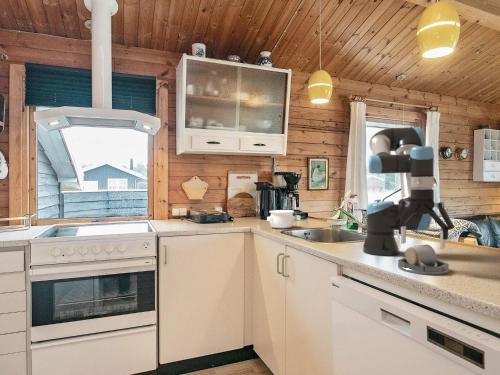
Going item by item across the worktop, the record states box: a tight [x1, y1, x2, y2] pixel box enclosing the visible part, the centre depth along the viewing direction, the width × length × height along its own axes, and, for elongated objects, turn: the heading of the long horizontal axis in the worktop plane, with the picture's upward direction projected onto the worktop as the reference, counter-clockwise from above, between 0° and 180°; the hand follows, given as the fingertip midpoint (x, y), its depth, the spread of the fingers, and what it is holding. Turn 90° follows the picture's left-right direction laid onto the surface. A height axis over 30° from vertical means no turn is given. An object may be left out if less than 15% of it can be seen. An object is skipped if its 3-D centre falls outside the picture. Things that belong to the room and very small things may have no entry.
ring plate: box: [397, 256, 450, 276], centre depth 120 cm, size 17×17×2 cm
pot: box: [266, 209, 296, 229], centre depth 235 cm, size 22×17×12 cm
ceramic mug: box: [404, 244, 437, 267], centre depth 119 cm, size 11×8×8 cm
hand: (422, 245), depth 121 cm, fingers open, 13 cm apart
